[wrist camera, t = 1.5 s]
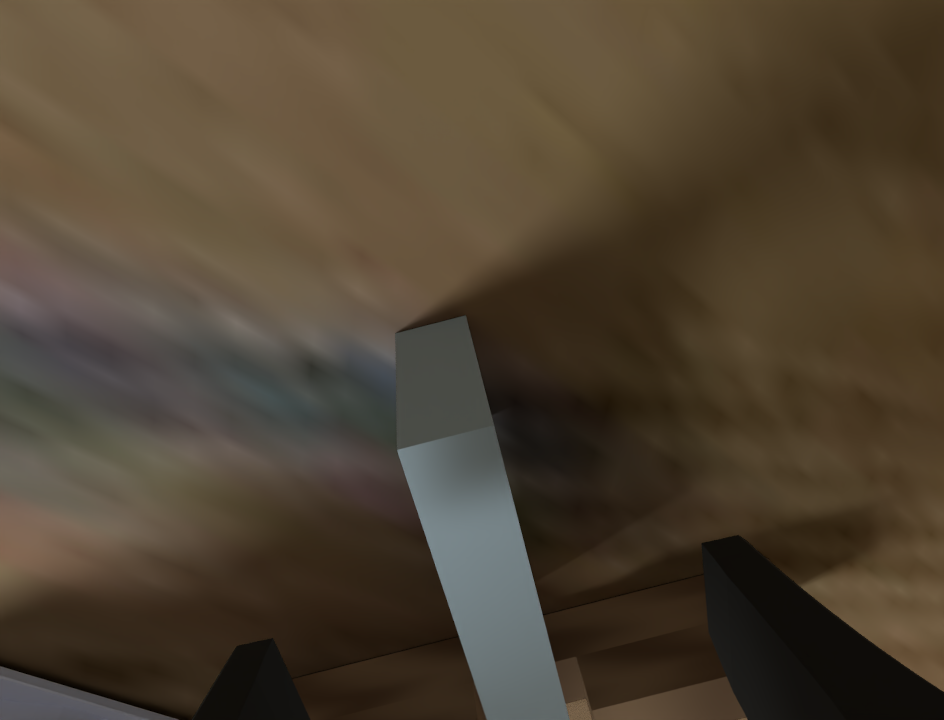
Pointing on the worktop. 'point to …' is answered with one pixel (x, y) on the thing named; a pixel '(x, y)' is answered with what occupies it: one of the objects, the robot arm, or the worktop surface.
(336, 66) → the worktop surface
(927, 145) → the worktop surface
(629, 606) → the walnut slotted rail
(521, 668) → the grey notched plate
